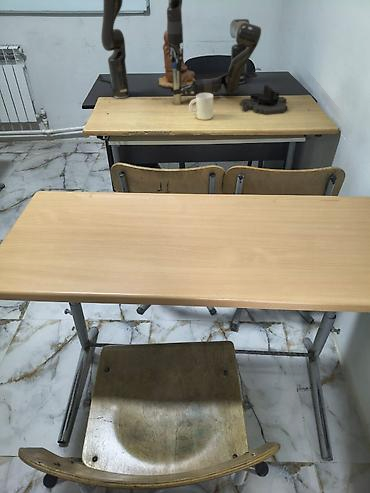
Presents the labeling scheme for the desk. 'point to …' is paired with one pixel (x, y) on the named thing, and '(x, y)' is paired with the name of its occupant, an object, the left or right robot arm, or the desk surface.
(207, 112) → the mug
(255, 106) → the abstract sculpture
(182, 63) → the sculpture
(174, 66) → the lid
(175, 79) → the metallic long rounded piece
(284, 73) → the desk surface
